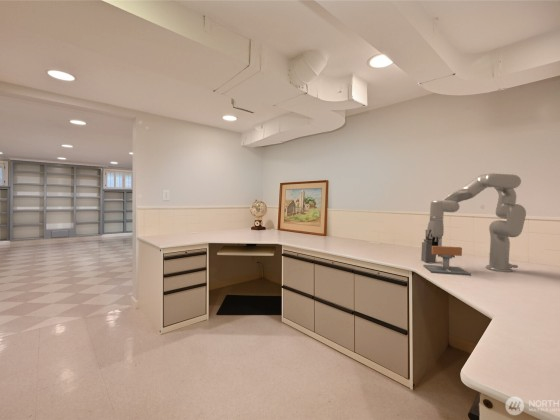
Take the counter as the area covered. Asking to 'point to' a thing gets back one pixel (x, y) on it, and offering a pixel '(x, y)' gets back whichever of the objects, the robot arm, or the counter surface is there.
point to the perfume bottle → (427, 251)
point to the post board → (453, 269)
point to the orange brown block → (446, 251)
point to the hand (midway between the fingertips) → (434, 247)
